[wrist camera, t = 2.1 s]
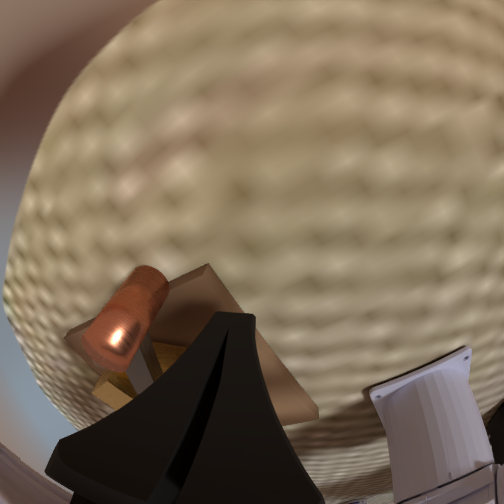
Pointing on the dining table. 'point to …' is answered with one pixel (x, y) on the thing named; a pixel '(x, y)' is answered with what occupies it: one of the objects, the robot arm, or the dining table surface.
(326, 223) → the dining table surface
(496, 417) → the coffee maker
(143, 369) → the golden gear lever
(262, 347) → the square socket base
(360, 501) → the energy drink
